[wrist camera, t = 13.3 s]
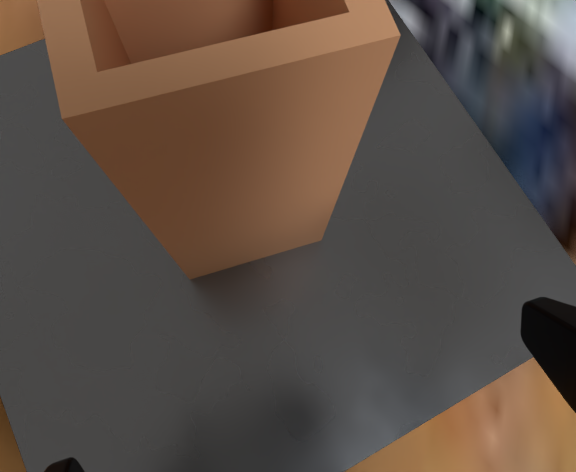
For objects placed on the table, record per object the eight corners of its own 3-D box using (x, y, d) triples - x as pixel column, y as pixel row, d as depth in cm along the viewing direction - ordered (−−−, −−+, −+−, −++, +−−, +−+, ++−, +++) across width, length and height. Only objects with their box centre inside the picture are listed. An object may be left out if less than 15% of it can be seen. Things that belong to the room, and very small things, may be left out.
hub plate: (590, 315, 18) (720, 289, 13) (94, 613, 15) (-2, 742, 10) (333, -54, 23) (353, -183, 18) (-87, 109, 20) (-217, 10, 14)
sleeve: (321, 240, 18) (400, 34, 7) (189, 279, 17) (61, 119, 6) (281, 125, 19) (297, -193, 8) (157, 157, 18) (6, -142, 8)
